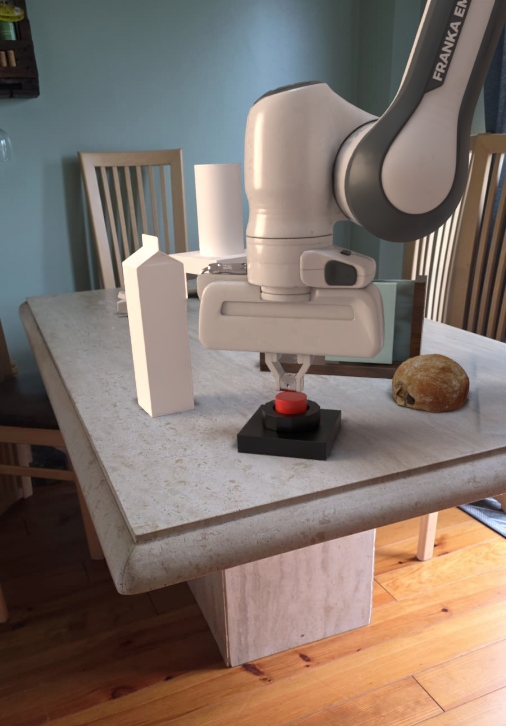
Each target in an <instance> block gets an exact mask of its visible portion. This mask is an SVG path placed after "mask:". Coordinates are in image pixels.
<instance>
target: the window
mask: <svg viewBox="0 0 506 726" xmlns="http://www.w3.org/2000/svg"><path fill="white" fill-rule="evenodd" d="M373 283H374V284H375V285H376V286H377V287H378V288H379V290H380V292H381V295H382V300H383V307H384V320H385V338H384V346H383V349H382V350H381V352H380V353H379V354H378V355H377V356H376V357H374V358H357V357H338V356H325V360H327V361H347V362H366V363H385V364H392V361H393V345H394V329H395V313H396V297H397V283H385V282H373Z"/></svg>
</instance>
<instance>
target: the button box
mask: <svg viewBox="0 0 506 726" xmlns="http://www.w3.org/2000/svg"><path fill="white" fill-rule="evenodd" d="M341 428H342V409H333V408H332V409H331V408H321V405H319V403H318V402H317V401H314V400H311V399H308V398H307V411H305V412H303V413H298V414H282V413H279V412H276V411H275V399H273V400H270V401H267V402H265V404H261V405H260V406H259V407H258V408H257V409H256V410H255V412H254V413H253V414H252V416H251V417H250V418H249V419H248V420H247V422H246V423H245V424H244V425H243V427H242V428H241V429H240V431H238V433H237V434H236V445H237V446H236V447H237V453H238V454H250V455H259V456H269V457H279V458H280V457H281V458H290V459H299V460H300V459H301V460H310V461H311V460H312V461H321V462H326V461H327V460H328V458H329V455H330V453H331V450H332V448H333V446H334V443H335V442H336V439H337V436H338V434H339V432H340V430H341Z"/></svg>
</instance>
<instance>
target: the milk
mask: <svg viewBox="0 0 506 726" xmlns="http://www.w3.org/2000/svg"><path fill="white" fill-rule="evenodd" d="M141 242H142V246H141V247H140V248H139V249H137V250H136V251H135V252H134V253H132V254H131V255H130V256H128V257H127V258H126V259H124V260H123V261H122V262H121V265H122V274H123V283H124V291H125V292H126V301H127V310H128V313H127V317H128V326H129V327H128V328H129V335H130V343H131V353H132V360H133V369H134V377H135V378H134V379H135V387H136V395H137V403H138V405H139V407H141V408H142V409H143V410H144V411H145V412H146V413H147V414H148V415H149V416H150V417H151V418H153V419H154V418H157V417H163V416H168V415H172V414H178V413H184V412H187V411H192V410H195V397H194V383H193V371H192V370H193V369H192V358H191V357H192V356H191V345H190V333H189V319H188V317H189V316H188V305H187V298H186V290H185V277H184V264H183V263H182V262H180V261H178V260H176V259H175V258H173V257H171V256H169V255H170V254H168V253H167V254H166V253H165V252H163V251H161V250H160V244H159V243H160V242H159V238H158V236H155V235H150V234H147V233H142V234H141Z"/></svg>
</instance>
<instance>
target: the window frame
mask: <svg viewBox="0 0 506 726" xmlns="http://www.w3.org/2000/svg"><path fill="white" fill-rule="evenodd" d="M372 282H385V283H397V297H396V313H395V329H394V345H393V361H392V364H385V363H366V362H347V361H327V360H325V356H320V355H314V360H313V362H312V363H311V365H310V367H309V368H308V370H307V372H306V373H305V375H306V374H307V375H325V376H339V377H341V376H342V377H343V376H344V377H356V378H357V377H358V378H375V379H392V380H393V377H394V374H395V372H396V370H397V369H398V367H399V366H400V365H401V364H402V363H403V362H405V361H406V360H408V359H410V358H413V357H416V356H420V355H422V350H423V349H422V347H423V338H424V337H423V335H424V325H425V313H426V311H425V310H426V298H427V286H428V275H427V274H423V275H422V274H416V276H415V279H382V278H381V279H379V278H378V279H375V278H374V279H373V280H372ZM278 361H279V362H280V364H281V366H282V368H283V370H284V372H285V373H298V372H299V370H300V369H301V367H302V365H303V363H302V364H299V363H298V354H283V353H282V357H281V358H280V359H279V360H278ZM259 371H260V372H270V373H272V372H271V371H270V369H269V367H268V366H267V364H266V362H265V353H264V352H259Z"/></svg>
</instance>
